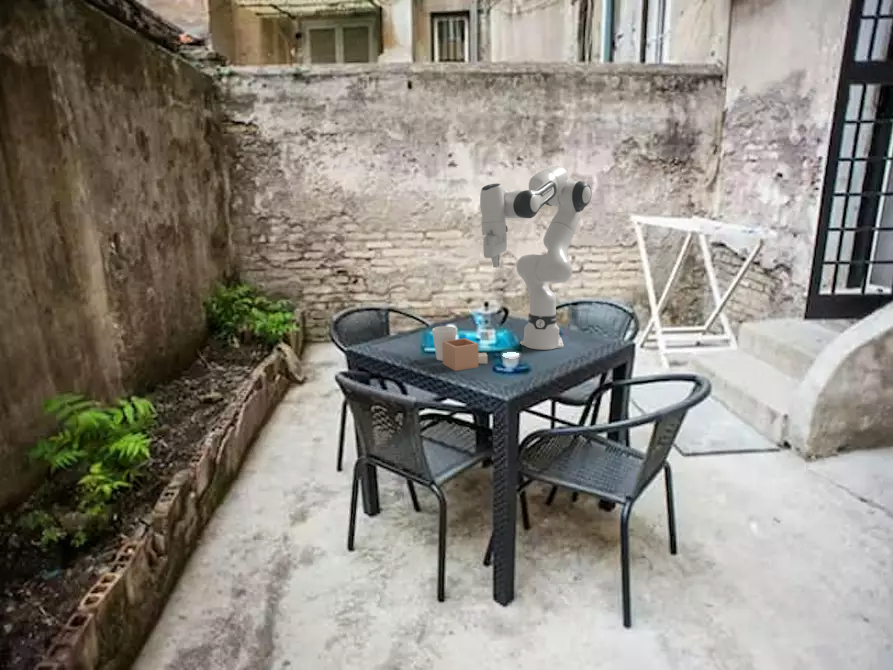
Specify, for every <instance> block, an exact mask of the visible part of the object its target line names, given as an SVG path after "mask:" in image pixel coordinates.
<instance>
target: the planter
mask: <svg viewBox="0 0 893 670" xmlns="http://www.w3.org/2000/svg"><path fill="white" fill-rule="evenodd" d="M478 353H479V343H478V342H475V341H473V340H470V339H468V338H466V337H464V338H456V339H455V340H449V341H443V361H442V365H444V366H446V367H447V368H450V369H451V370H453V371H454V372H458V371H463V370H469V369H474V368H475V369H476V368H479V364H478Z"/></svg>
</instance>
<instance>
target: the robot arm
mask: <svg viewBox="0 0 893 670" xmlns="http://www.w3.org/2000/svg"><path fill="white" fill-rule="evenodd" d="M479 194H480V198H479V200H480V201H479V202H480V203H479V205H480V212H481V235H482V236H484V237H483V244H482V245H483V257H484V258H485V259H490V258H491V262H492V267H493V268H498V267H500V261H501V254H502V253H504V252H506V251H507V248H508V247H507V246H508V243H507V242H508V241H507V239H508V237H507V233H508V230H509V229H508V226H507V223H506V219H519V218H520V219H532V218H534V217H535V216H537V214H538V213H539V211H540V209H541V208H542V207H544V205H546V206H549V207H557V212H556V213H555V215H554V216H553V218H552V219H551V221H550V223H549V225H548V228H547V229H546V232H545V234H544V237H543V238H542V239H543V245H544V247H545V248H546V249H547V253H545V255H543V254H535V253H534V254H525V255H522V256H520V258H519V259H518V260H517V263H516V273H517V274H518V276H519V277H520V278H521V280H523V282H524V284H525V285H526V289H527V291H528V296H529V297H528V298H529V313H528V316H527V318H528V320H527V321H528V323H526V325H525V326H524V334H523V340H521V341H519V345H520V344H521V346H524V347H526V348H529V349H531V350H533V349H534V350H541V351H542V350H546V351H547V350H554V349H560V348H561V349H562V348H564V343H563V339H562V336H561V335H560V327H559V326H558V324H557V321H558V320H557V319H558V318H557V315H558V314H557V312H556V311H557V309H556V308H557V296H556V294H555V293H554V292H553V291H552V290H551V289H550V287H549V285H548V283H550V284H561V283H567V282H568V281H569V280H570V278H571V277H572V274H573V265H572V262H571V261H570V260H569V258H568V251H569V247H570V244H571V243H572V239H573V237H574V235H575V233H576V230H577V227H578V225H579V222H580V221H579V220H580V215H581V213H580V212H582V211H583V210H584V209H585V208H586V207H587V206H588V205H589V203H590V202H591V199H592V194H593V193H592V188H591V186H590V184H589V183H588V182H585V181H583V180H579V181H577V180H571V179H569V174H568V171H567V170H566V169H565V168H564V167H562V166H558V165H557V166H551V167H547V168H545V169H542V170H540V171H538V172H537V173H535V174H533V176H532V177H531V178H530V179H529V182H528V189H525V190H520V191H518V190H517V191H516V190H515V191H509V190H506V189H505V188H504V187H503V186H502V184H501V183H491V184H486V185H484V186H483V187H481V190H480V193H479Z"/></svg>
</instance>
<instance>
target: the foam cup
mask: <svg viewBox="0 0 893 670" xmlns="http://www.w3.org/2000/svg"><path fill="white" fill-rule="evenodd" d="M457 330H458V329H457V328H456V327H455V326H448V325H446V326H445V325H442V326H436V327H433V328H432V338H433V345H434V351H435V356H436V357H435V358H436V361H437V360H438V361H442V362H443V341H449V340H456V339H457V334H458V333H457Z"/></svg>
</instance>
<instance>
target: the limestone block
mask: <svg viewBox="0 0 893 670" xmlns="http://www.w3.org/2000/svg"><path fill="white" fill-rule="evenodd" d="M481 364H482V365H483V364H485V365H486V364H488V354H487V352H478V365H481Z"/></svg>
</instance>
